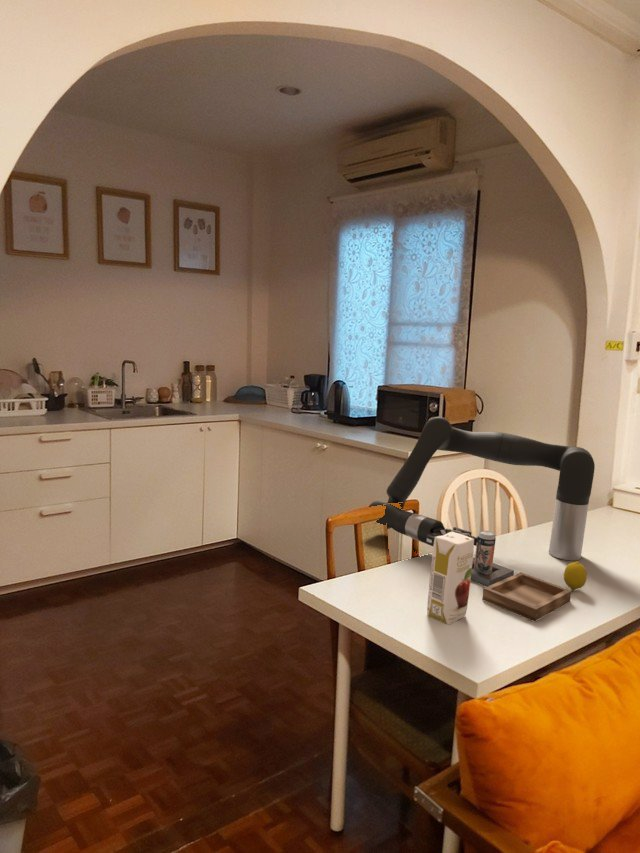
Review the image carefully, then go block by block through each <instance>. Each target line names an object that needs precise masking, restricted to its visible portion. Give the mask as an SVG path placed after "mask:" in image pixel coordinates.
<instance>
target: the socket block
mask: <svg viewBox="0 0 640 853" xmlns="http://www.w3.org/2000/svg"><path fill="white" fill-rule="evenodd" d="M474 562H475V556H473V562H472V571H471V580H470V582H471V581H472V582H474V583H476V584H479V585H482V586H484V587H488V586H490V585H492V584H495V583H497V582H499V581H502V580H504V579H506V578H509V577H511V576H513V575H515V570H514V569H512V568H508V567H505V566H503V565H501V564H497V563H495V562H493V566H492V573H490V574H487V575H486V574H484V573H481V572H479V571H476V570H474Z"/></svg>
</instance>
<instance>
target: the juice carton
mask: <svg viewBox="0 0 640 853" xmlns="http://www.w3.org/2000/svg"><path fill="white" fill-rule="evenodd" d="M474 550H475V545H474V539H473V538H470V537H468V536H465V535H462V534H459V533H455V532H452V531H451V532H449V533H447V534H445V535H443V536H437V537H435V540H434V545H433V546H432V554H431V555H432V556H431V565H430V573H429V583H428V584H429V586H428V592H427V593H428V594H427V607H426V608H427V609H426V615H427V616H428V617H431V618H434V619H435V620H438V621H440V622H442V623H445V624H446V625H450V624H451V625H452V624H453V623H455V622H456V621H458V620H460V619H463V618H465V617H466V615H467V611H468V604H469V595H470V587H471V571H472V562H473V558H474V552H475V551H474Z"/></svg>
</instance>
